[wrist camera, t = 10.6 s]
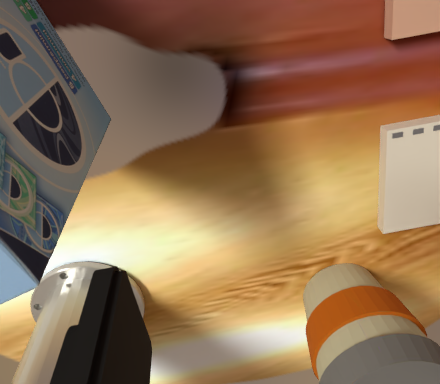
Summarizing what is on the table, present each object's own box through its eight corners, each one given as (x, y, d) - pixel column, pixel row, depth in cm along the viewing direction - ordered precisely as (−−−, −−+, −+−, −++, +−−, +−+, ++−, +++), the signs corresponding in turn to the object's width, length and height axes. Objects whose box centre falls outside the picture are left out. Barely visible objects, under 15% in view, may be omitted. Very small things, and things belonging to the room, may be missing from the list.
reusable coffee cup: (295, 338, 53) (332, 458, 40) (281, 264, 47) (320, 377, 34) (389, 317, 53) (459, 431, 39) (388, 240, 47) (470, 345, 33)
